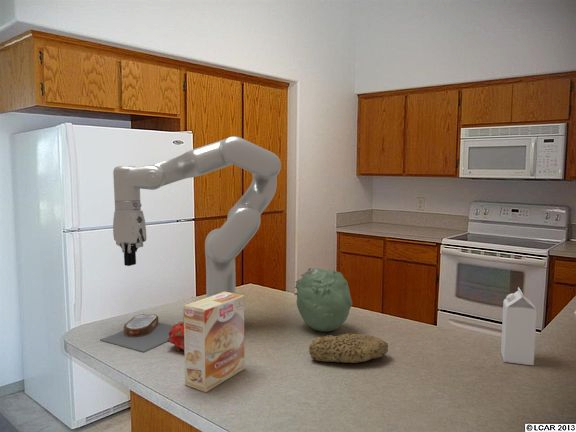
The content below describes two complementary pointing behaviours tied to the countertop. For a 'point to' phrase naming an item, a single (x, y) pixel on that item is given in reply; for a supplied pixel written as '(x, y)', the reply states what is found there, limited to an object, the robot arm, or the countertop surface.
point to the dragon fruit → (177, 336)
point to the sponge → (347, 348)
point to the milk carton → (518, 329)
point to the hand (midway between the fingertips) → (130, 264)
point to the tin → (141, 325)
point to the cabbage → (323, 299)
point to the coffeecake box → (213, 340)
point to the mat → (141, 339)
